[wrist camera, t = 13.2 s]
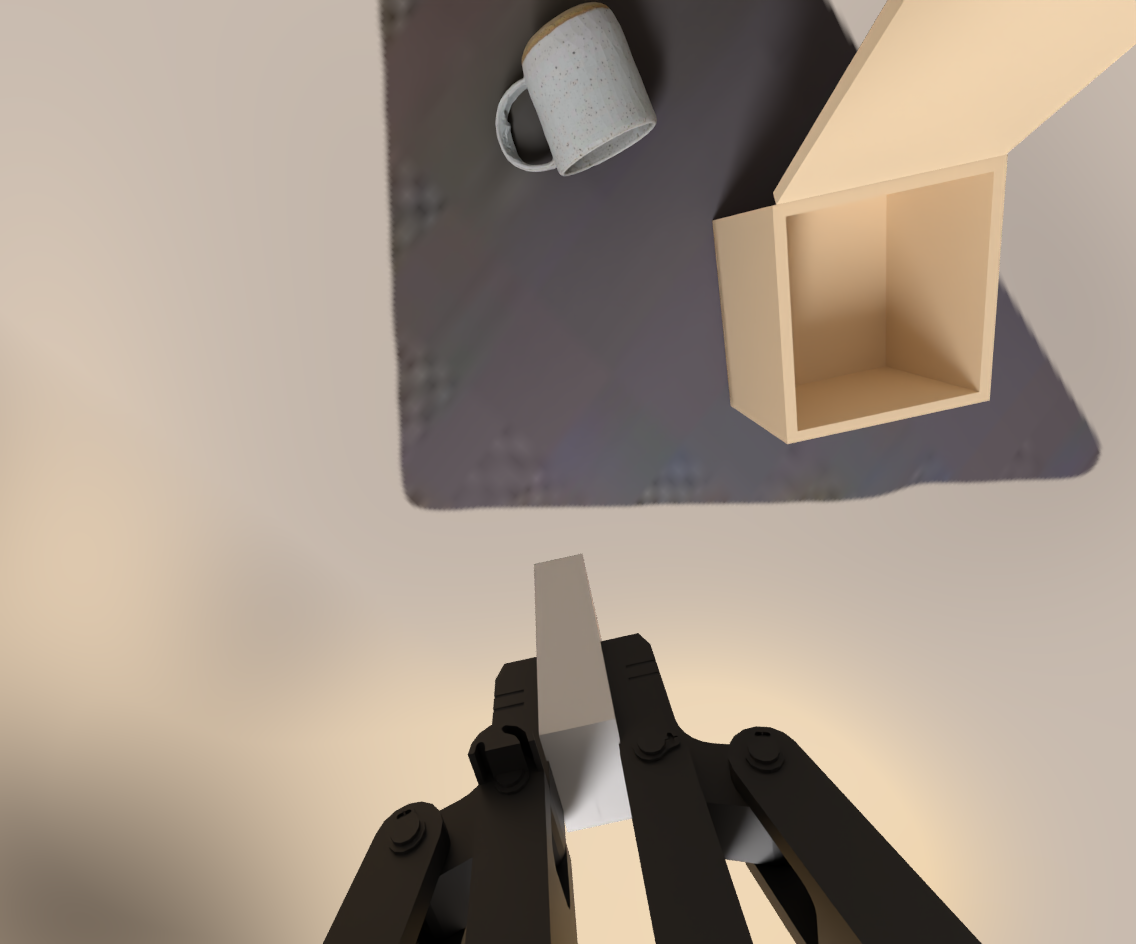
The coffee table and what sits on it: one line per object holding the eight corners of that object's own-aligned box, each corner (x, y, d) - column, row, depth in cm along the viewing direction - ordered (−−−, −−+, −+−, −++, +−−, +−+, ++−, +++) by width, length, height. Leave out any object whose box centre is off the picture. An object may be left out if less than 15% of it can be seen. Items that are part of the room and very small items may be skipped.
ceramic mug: (603, 23, 41) (618, -29, 33) (647, 138, 43) (669, 114, 36) (476, 95, 42) (464, 61, 35) (526, 203, 44) (525, 192, 37)
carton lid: (776, 204, 34) (772, 191, 35) (1005, 154, 34) (1001, 141, 34) (1078, -278, 14) (1068, -310, 14) (1665, -408, 14) (1651, -439, 14)
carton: (712, 220, 46) (772, 205, 35) (890, 181, 46) (1007, 154, 35) (730, 405, 51) (787, 443, 40) (888, 371, 51) (989, 400, 40)
